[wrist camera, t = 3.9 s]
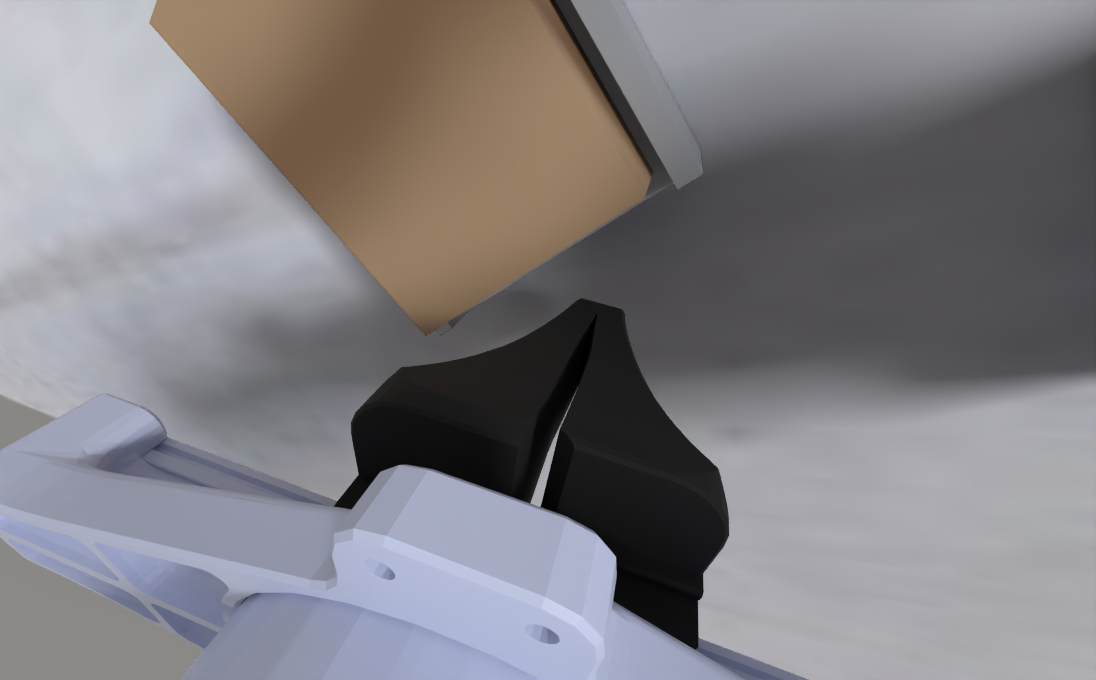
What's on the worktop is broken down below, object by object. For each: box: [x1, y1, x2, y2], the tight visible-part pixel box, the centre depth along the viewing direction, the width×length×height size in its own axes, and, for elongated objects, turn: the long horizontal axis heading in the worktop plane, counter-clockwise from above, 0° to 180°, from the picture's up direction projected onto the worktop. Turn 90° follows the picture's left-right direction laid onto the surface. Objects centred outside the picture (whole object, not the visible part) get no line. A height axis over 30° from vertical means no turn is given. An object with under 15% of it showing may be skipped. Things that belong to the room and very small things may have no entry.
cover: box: [149, 0, 653, 336], centre depth 10 cm, size 9×7×2 cm
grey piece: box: [436, 0, 703, 335], centre depth 11 cm, size 10×9×4 cm
